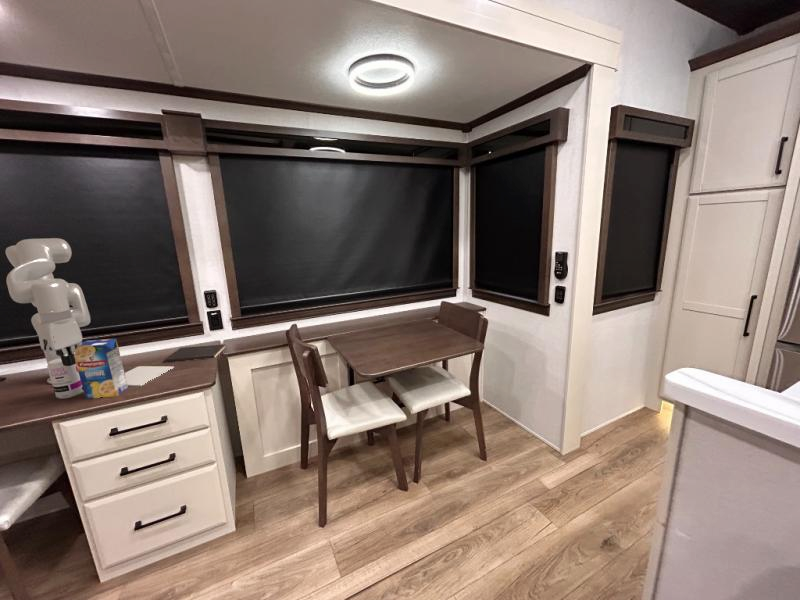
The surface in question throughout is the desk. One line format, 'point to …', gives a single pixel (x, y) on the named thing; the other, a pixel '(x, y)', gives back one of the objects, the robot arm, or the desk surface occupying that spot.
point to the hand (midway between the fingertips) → (69, 364)
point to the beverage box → (100, 368)
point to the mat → (144, 374)
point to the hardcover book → (195, 353)
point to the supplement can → (64, 379)
